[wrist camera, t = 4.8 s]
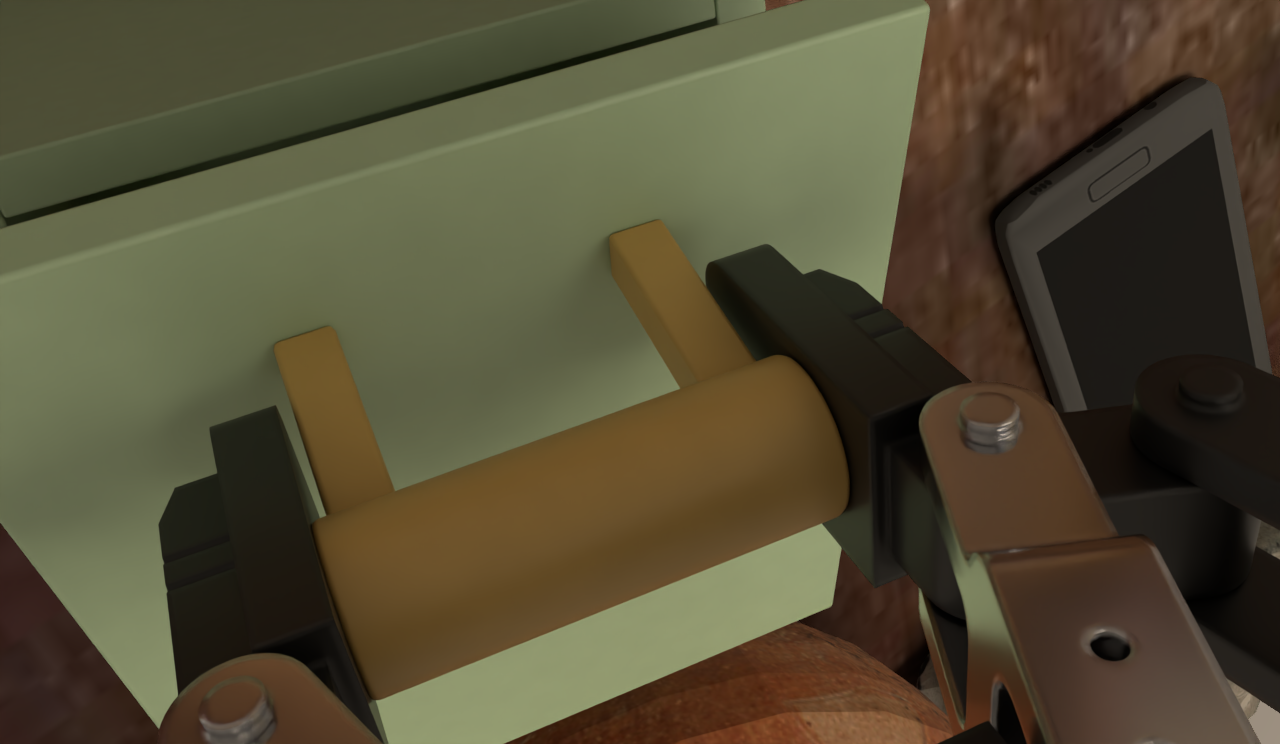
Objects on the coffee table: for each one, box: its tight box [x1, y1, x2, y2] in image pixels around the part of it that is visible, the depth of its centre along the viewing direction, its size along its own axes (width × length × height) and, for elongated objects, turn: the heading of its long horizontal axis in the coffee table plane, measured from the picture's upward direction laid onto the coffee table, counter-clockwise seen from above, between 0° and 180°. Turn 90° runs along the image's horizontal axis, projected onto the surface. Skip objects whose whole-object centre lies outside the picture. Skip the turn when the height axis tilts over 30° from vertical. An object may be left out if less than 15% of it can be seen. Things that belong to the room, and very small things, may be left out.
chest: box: [0, 0, 766, 228], centre depth 23 cm, size 13×12×9 cm
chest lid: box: [0, 0, 930, 744], centre depth 17 cm, size 14×12×5 cm
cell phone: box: [995, 77, 1272, 413], centre depth 37 cm, size 7×14×1 cm, turn 28°
